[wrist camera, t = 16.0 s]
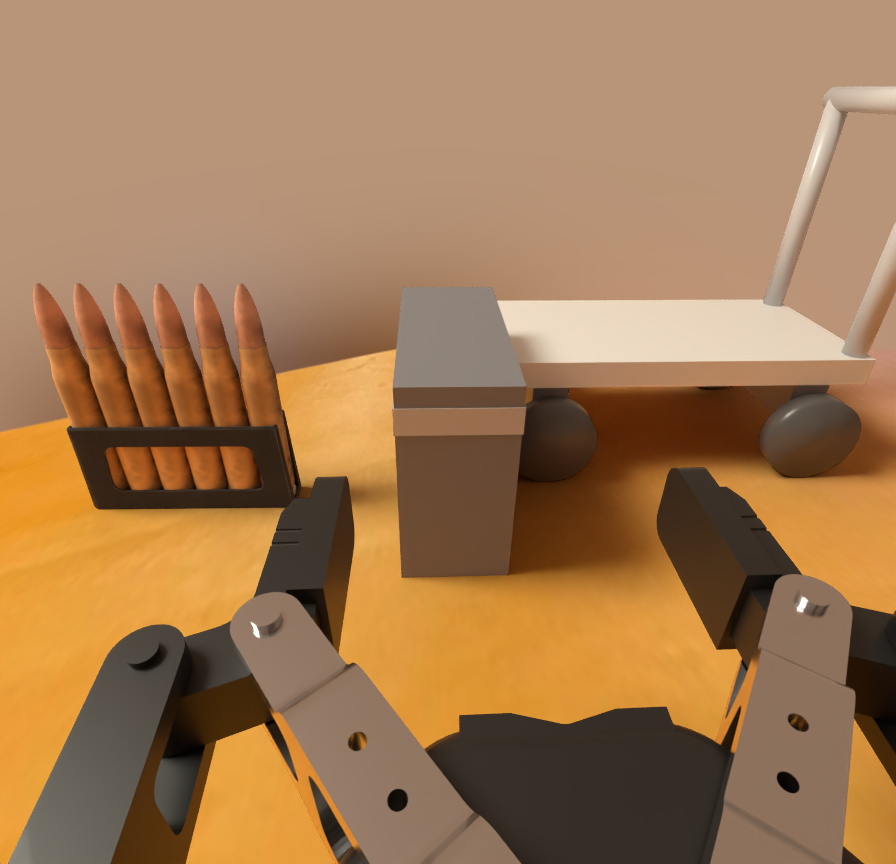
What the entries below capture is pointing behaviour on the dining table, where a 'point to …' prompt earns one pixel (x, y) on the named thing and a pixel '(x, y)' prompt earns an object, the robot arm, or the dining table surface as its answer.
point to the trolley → (710, 344)
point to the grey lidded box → (456, 432)
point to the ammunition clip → (170, 405)
